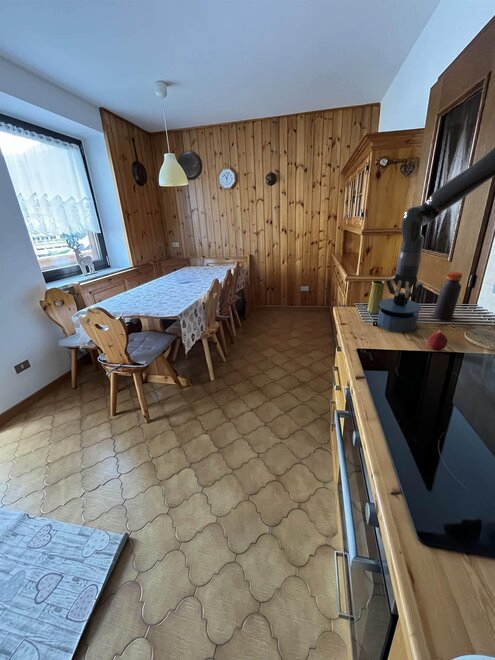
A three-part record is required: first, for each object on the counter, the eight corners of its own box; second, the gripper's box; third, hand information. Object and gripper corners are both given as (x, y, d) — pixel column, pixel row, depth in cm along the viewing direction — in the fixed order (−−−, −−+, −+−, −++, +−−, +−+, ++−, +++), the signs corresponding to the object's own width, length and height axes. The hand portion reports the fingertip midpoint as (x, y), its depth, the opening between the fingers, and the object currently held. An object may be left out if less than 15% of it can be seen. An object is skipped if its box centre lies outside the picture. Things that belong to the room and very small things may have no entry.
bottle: (434, 313, 128) (446, 270, 119) (452, 317, 124) (466, 272, 115) (432, 319, 123) (443, 274, 114) (450, 322, 119) (464, 276, 110)
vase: (378, 308, 137) (383, 279, 130) (382, 313, 131) (387, 283, 125) (365, 308, 138) (369, 280, 131) (369, 313, 132) (373, 284, 126)
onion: (448, 354, 99) (454, 334, 95) (431, 355, 99) (436, 335, 95) (438, 346, 104) (443, 326, 100) (422, 346, 104) (427, 327, 100)
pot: (419, 320, 123) (422, 306, 120) (409, 339, 109) (413, 324, 106) (384, 313, 131) (386, 300, 128) (371, 330, 117) (373, 316, 114)
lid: (423, 304, 117) (426, 290, 115) (416, 318, 107) (420, 303, 104) (384, 298, 126) (386, 285, 123) (374, 310, 115) (376, 296, 112)
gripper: (386, 263, 109) (379, 304, 117) (427, 267, 101) (417, 311, 109) (391, 258, 114) (384, 298, 122) (430, 262, 107) (420, 304, 114)
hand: (399, 304), depth 116 cm, fingers closed on lid, 2 cm apart
